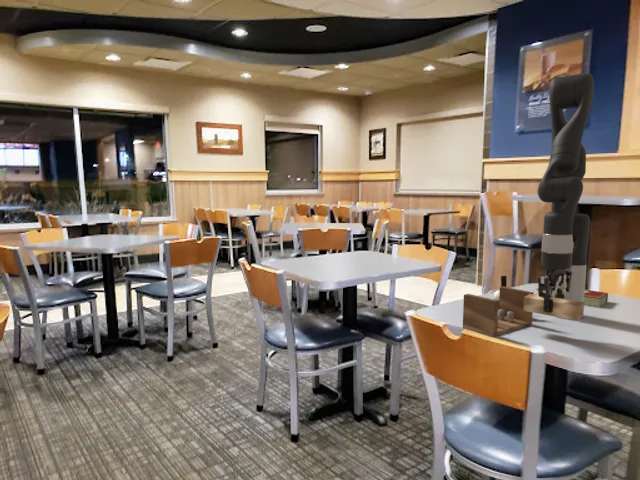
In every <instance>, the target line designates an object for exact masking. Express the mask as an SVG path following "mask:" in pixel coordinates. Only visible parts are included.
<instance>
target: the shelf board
mask: <svg viewBox="0 0 640 480" xmlns="http://www.w3.org/2000/svg"><path fill="white" fill-rule="evenodd" d="M543 306H544V298H542V297H539V295H538V294H535V293H534V294H529V295H527V296H525V297H524V308H523V311H527V312H533V313H534V314H537V315H538V314H540V315H544V316H550V317H555V318H559V319H560V318H562V319H567V320H571V321H572V320H573V321H577V322H579V321H580V320H581V319H583V318H582V317H584V310H585V309H584V308H585V305H584V302H580V301H574V300H567V299H561V298H555V297H553V311H552V312H551V313H548V312H544V310H543ZM533 313H532V314H533Z"/></svg>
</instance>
